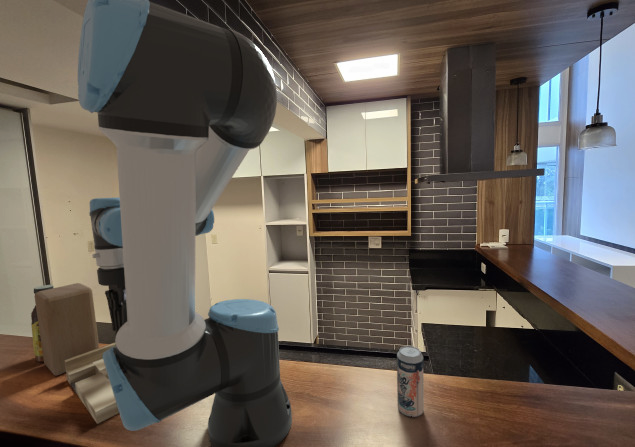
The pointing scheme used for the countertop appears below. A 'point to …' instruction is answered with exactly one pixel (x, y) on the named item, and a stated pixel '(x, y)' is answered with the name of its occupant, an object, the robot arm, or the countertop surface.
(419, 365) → the beer can
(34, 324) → the sauce bottle
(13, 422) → the countertop surface
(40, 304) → the block
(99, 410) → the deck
